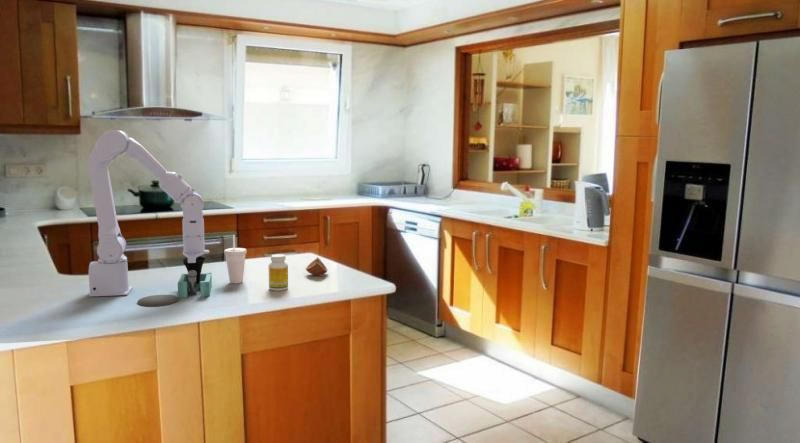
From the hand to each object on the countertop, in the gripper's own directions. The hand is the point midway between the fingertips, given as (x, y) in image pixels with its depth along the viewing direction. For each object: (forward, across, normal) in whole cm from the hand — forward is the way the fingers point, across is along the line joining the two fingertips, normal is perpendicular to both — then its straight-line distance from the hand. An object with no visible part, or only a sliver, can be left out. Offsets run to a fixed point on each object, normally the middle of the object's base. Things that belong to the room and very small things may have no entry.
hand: (195, 282), depth 179 cm
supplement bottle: (+2, -5, -23) cm, 24 cm away
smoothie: (+2, +5, -11) cm, 12 cm away
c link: (+1, -5, 0) cm, 5 cm away
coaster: (+1, -13, +8) cm, 15 cm away
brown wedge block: (+2, +10, -35) cm, 36 cm away
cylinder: (+1, -7, 0) cm, 7 cm away
